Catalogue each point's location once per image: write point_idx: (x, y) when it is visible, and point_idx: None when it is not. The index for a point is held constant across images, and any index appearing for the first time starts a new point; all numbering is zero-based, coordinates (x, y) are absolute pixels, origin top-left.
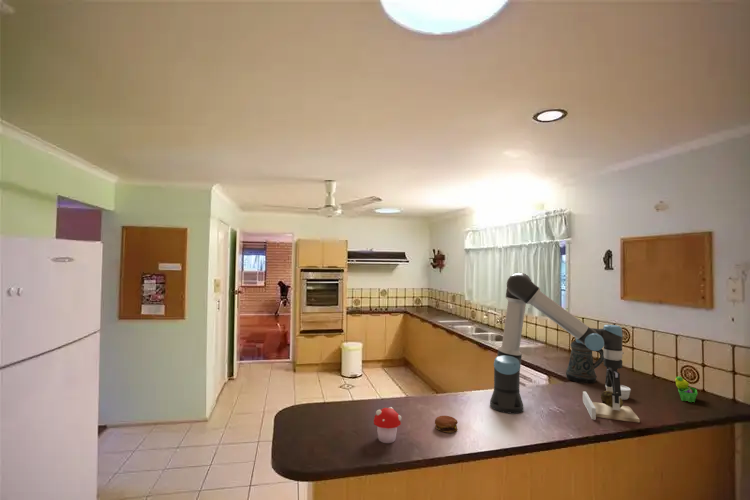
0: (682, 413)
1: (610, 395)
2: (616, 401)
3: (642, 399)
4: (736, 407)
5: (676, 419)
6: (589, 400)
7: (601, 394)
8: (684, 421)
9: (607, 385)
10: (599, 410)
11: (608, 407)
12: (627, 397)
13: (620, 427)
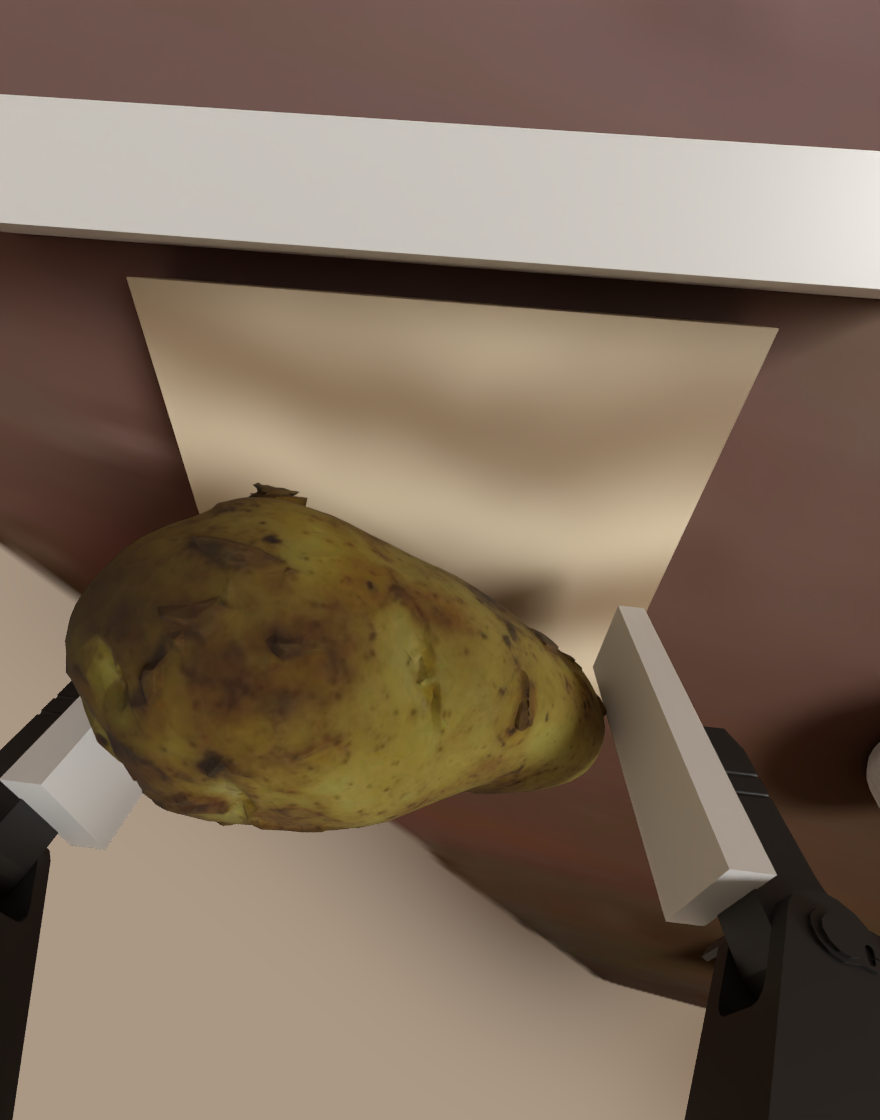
0: (563, 884)
1: (96, 730)
2: (75, 700)
3: (840, 844)
4: (673, 992)
5: (451, 841)
6: (328, 185)
7: (166, 572)
8: (432, 852)
9: (774, 931)
10: (320, 391)
11: (504, 556)
12: (875, 799)
13: (8, 495)
